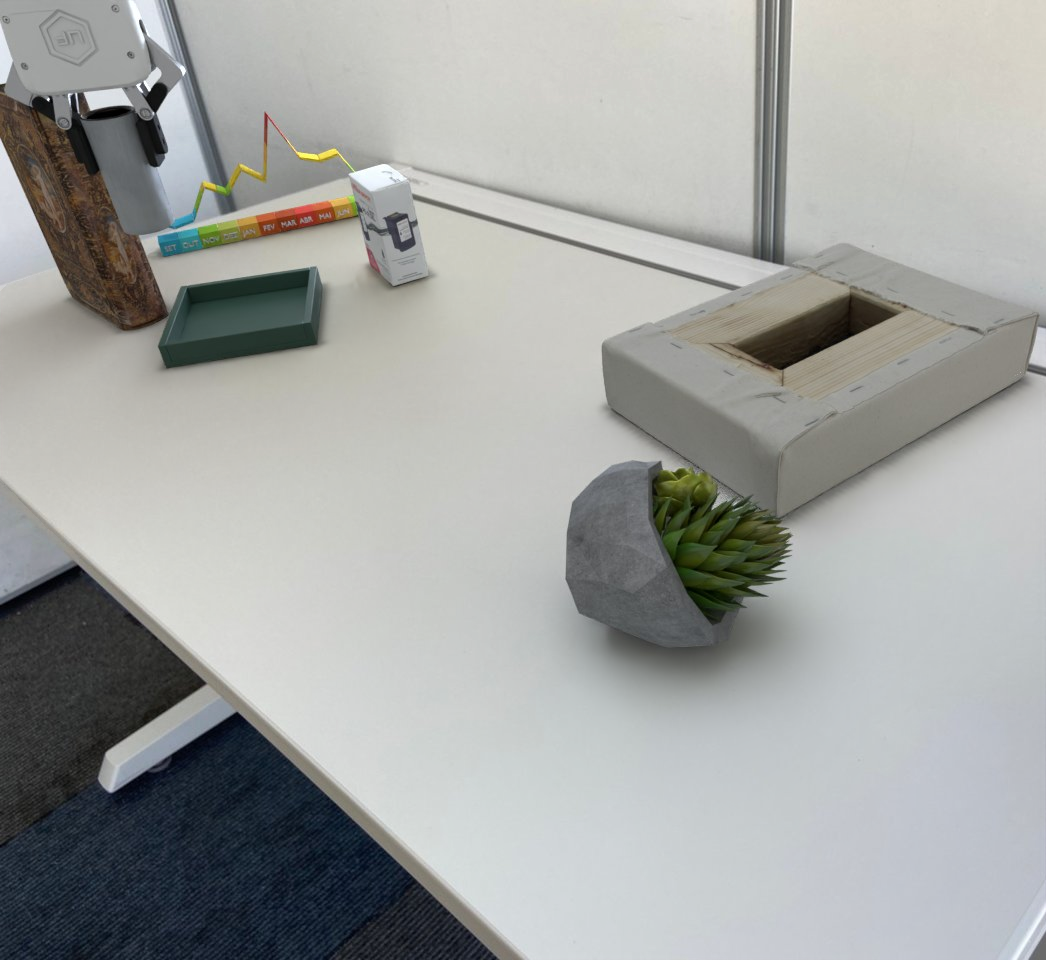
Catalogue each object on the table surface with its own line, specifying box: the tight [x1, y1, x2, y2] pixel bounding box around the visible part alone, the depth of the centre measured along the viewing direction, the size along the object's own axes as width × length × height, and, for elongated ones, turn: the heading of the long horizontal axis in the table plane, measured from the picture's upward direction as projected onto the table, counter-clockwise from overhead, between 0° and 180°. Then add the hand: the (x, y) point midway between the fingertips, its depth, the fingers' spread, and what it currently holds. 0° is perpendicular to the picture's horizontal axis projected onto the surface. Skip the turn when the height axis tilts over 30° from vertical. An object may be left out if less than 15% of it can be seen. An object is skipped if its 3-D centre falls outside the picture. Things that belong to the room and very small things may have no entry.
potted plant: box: [565, 460, 794, 649], centre depth 64 cm, size 12×13×15 cm
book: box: [0, 82, 169, 331], centre depth 109 cm, size 16×6×25 cm, turn 47°
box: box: [601, 242, 1041, 519], centre depth 88 cm, size 23×8×32 cm
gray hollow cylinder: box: [80, 104, 176, 236], centre depth 88 cm, size 4×4×10 cm
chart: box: [156, 111, 358, 257], centre depth 130 cm, size 30×3×15 cm, turn 115°
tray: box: [157, 265, 323, 369], centre depth 109 cm, size 16×16×3 cm
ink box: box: [347, 163, 430, 287], centre depth 116 cm, size 8×5×12 cm, turn 32°
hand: (127, 164), depth 87 cm, fingers closed on gray hollow cylinder, 4 cm apart
